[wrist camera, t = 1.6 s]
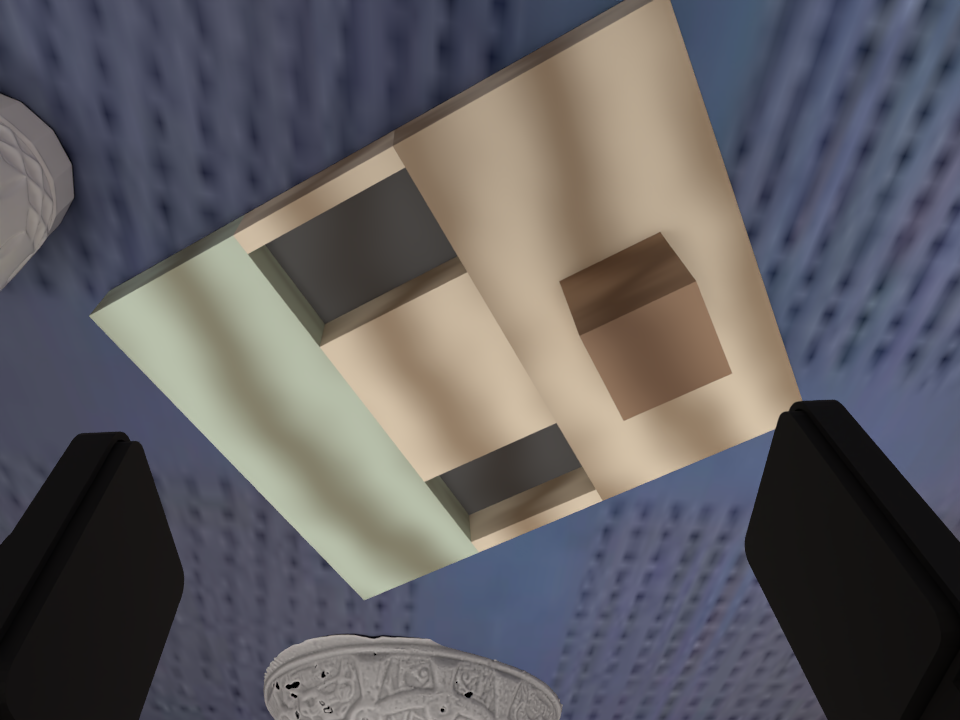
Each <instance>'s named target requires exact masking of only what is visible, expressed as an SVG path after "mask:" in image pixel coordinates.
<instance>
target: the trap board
mask: <svg viewBox="0 0 960 720" xmlns="http://www.w3.org/2000/svg"><path fill="white" fill-rule="evenodd" d="M659 232H661V234H662V235H663V237H664V238H665V239H666V241H667V242H668V243H669V245H670V246H671V247H672V249H673V250H674V251H675V253H676V254H677V256H678V257H679V258H680V260H681V261H682V262H683V264H684V265H685V266H686V268H687V269H688V271H689V272H690V273H691V275H692V276H693V277H694V279H695V280H696V282H697V284H698V287H699V289H700V292H701V295H702V297H703V300H704V302H705V305H706V307H707V310H708V312H709V315H710V318H711V320H712V323H713V325H714V328H715V330H716V333H717V336H718V338H719V341H720V343H721V346H722V348H723V351H724V353H725V356H726V359H727V361H728V364H729V366H730V369H731V371H732V374H730V375H728V376H725V377H723V378H721V379H719V380H716V381H714V382H712V383H709V384H707V385H705V386H703V387H700V388H698V389H696V390H694V391H691V392H689V393H687V394H684V395H682V396H680V397H678V398H675V399H673V400H671V401H668V402H666V403H664V404H662V405H659V406H657V407H655V408H652V409H650V410H648V411H646V412H643V413H641V414H639V415H636V416H634V417H632V418H630V419H627V420H625V421H623V419H622V417H621V415H620V413H619V411H618V409H617V407H616V405H615V403H614V401H613V400H612V398H611V396H610V394H609V392H608V390H607V388H606V386H605V384H604V382H603V380H602V378H601V377H600V375H599V373H598V371H597V369H596V367H595V365H594V363H593V361H592V359H591V357H590V355H589V354H588V352H587V350H586V348H585V346H584V344H583V342H582V340H581V338H580V336H579V334H578V331H577V328H576V325H575V323H574V320H573V317H572V315H571V312H570V309H569V306H568V304H567V301H566V298H565V296H564V293H563V290H562V287H561V285H560V282H559V281H561V280H563V279H565V278H567V277H569V276H571V275H573V274H575V273H577V272H579V271H581V270H583V269H585V268H587V267H589V266H591V265H593V264H595V263H597V262H600V261H602V260H604V259H606V258H608V257H610V256H612V255H614V254H616V253H618V252H620V251H622V250H624V249H626V248H628V247H630V246H632V245H634V244H636V243H638V242H640V241H642V240H644V239H646V238H649V237H651V236H653V235H655V234H657V233H659ZM89 317H90V318H91V319H92V320H93V321H94V322H95V323H96V324H97V325H98V326H99V327H100V328H101V329H102V330H103V331H104V332H105V333H106V334H107V335H108V336H109V337H110V338H111V339H112V340H113V341H114V342H115V343H116V344H117V345H118V346H119V348H120V349H121V350H122V351H123V352H124V353H125V354H126V355H127V356H128V357H129V358H130V359H131V360H132V361H133V362H134V363H135V364H136V365H137V366H138V367H139V368H140V369H141V370H142V371H143V372H144V373H145V374H146V375H147V376H148V377H149V378H150V380H151V381H152V382H153V383H154V384H155V385H156V386H157V387H158V388H159V389H160V390H161V391H162V392H163V393H164V394H165V395H166V396H167V397H168V398H169V399H170V400H171V401H172V402H173V403H174V404H175V405H176V406H177V407H178V408H179V409H180V410H181V412H182V413H183V414H184V415H185V416H186V417H187V418H188V419H189V420H190V421H191V422H192V423H193V424H194V425H195V426H196V427H197V428H198V429H199V430H200V431H201V432H202V433H203V434H204V435H205V436H206V437H207V438H208V439H209V440H210V441H211V442H212V444H213V445H214V446H215V447H216V448H217V449H218V450H219V451H220V452H221V453H222V454H223V455H224V456H225V457H226V458H227V459H228V460H229V461H230V462H231V463H232V464H233V465H234V466H235V467H236V468H237V469H238V470H239V471H240V472H241V473H242V474H243V476H244V477H245V478H246V479H247V480H248V481H249V482H250V483H251V484H252V485H253V486H254V487H255V488H256V489H257V490H258V491H259V492H260V493H261V494H262V495H263V496H264V497H265V498H266V499H267V500H268V501H269V502H270V503H271V504H272V505H273V506H274V508H275V509H276V510H277V511H278V512H279V513H280V514H281V515H282V516H283V517H284V518H285V519H286V520H287V521H288V522H289V523H290V524H291V525H292V526H293V527H294V528H295V529H296V530H297V531H298V532H299V533H300V534H301V535H302V536H303V537H304V538H305V540H306V541H307V542H308V543H309V544H310V545H311V546H312V547H313V548H314V549H315V550H316V551H317V552H318V553H319V554H320V555H321V556H322V557H323V558H324V559H325V560H326V561H327V562H328V563H329V564H330V565H331V566H332V567H333V568H334V569H335V570H336V572H337V573H338V574H339V575H340V576H341V577H342V578H343V579H344V580H345V581H346V582H347V583H348V584H349V585H350V586H351V587H352V588H353V589H354V590H355V591H356V592H357V593H358V594H359V595H360V596H361V597H362V598H363V599H364V600H366V599H368V598H371V597H373V596H375V595H378V594H380V593H383V592H385V591H387V590H390V589H392V588H395V587H397V586H399V585H402V584H404V583H407V582H409V581H411V580H414V579H416V578H419V577H421V576H423V575H426V574H428V573H431V572H433V571H435V570H438V569H440V568H443V567H445V566H447V565H450V564H452V563H455V562H457V561H459V560H462V559H464V558H467V557H469V556H471V555H474V554H476V553H479V552H481V551H483V550H486V549H488V548H490V547H493V546H495V545H498V544H500V543H502V542H505V541H507V540H510V539H512V538H514V537H517V536H519V535H522V534H524V533H526V532H529V531H531V530H534V529H536V528H538V527H541V526H543V525H546V524H548V523H550V522H553V521H555V520H558V519H560V518H562V517H565V516H567V515H570V514H572V513H574V512H577V511H579V510H582V509H584V508H586V507H589V506H591V505H594V504H596V503H598V502H601V501H603V500H606V499H608V498H610V497H613V496H615V495H618V494H620V493H622V492H625V491H627V490H630V489H632V488H634V487H637V486H639V485H642V484H644V483H646V482H649V481H651V480H654V479H656V478H658V477H661V476H663V475H666V474H668V473H670V472H673V471H675V470H677V469H680V468H682V467H685V466H687V465H689V464H692V463H694V462H697V461H699V460H701V459H704V458H706V457H709V456H711V455H713V454H716V453H718V452H721V451H723V450H725V449H728V448H730V447H733V446H735V445H737V444H740V443H742V442H745V441H747V440H749V439H752V438H754V437H757V436H759V435H761V434H764V433H766V432H769V431H771V430H773V429H775V428H776V425H777V421H778V418H779V416H780V414H781V413H782V412H785V411H789V409H790V407H791V406H792V404H793V403H795V402H797V401H802V399H801V395H800V392H799V389H798V386H797V383H796V380H795V377H794V374H793V371H792V368H791V365H790V362H789V359H788V356H787V353H786V350H785V347H784V344H783V341H782V338H781V335H780V332H779V329H778V326H777V323H776V320H775V317H774V314H773V311H772V308H771V305H770V302H769V299H768V296H767V293H766V289H765V286H764V283H763V280H762V277H761V274H760V271H759V268H758V265H757V262H756V259H755V256H754V253H753V250H752V247H751V244H750V241H749V238H748V235H747V232H746V229H745V226H744V223H743V220H742V217H741V214H740V211H739V208H738V205H737V202H736V199H735V196H734V193H733V190H732V186H731V183H730V180H729V177H728V174H727V171H726V168H725V165H724V162H723V159H722V156H721V153H720V150H719V147H718V144H717V141H716V138H715V135H714V132H713V129H712V126H711V123H710V120H709V117H708V114H707V111H706V108H705V105H704V102H703V99H702V96H701V93H700V90H699V87H698V84H697V80H696V77H695V74H694V71H693V68H692V65H691V62H690V59H689V56H688V53H687V50H686V47H685V44H684V41H683V38H682V35H681V32H680V29H679V26H678V23H677V20H676V17H675V14H674V11H673V8H672V5H671V2H670V0H624V1H623V2H621V3H619V4H617V5H616V6H614V7H612V8H610V9H608V10H607V11H605V12H603V13H601V14H600V15H598V16H596V17H594V18H592V19H591V20H589V21H587V22H585V23H584V24H582V25H580V26H578V27H577V28H575V29H573V30H571V31H569V32H568V33H566V34H564V35H562V36H561V37H559V38H557V39H555V40H553V41H552V42H550V43H548V44H546V45H545V46H543V47H541V48H539V49H538V50H536V51H534V52H532V53H530V54H529V55H527V56H525V57H523V58H522V59H520V60H518V61H516V62H514V63H513V64H511V65H509V66H507V67H506V68H504V69H502V70H500V71H499V72H497V73H495V74H493V75H491V76H490V77H488V78H486V79H484V80H483V81H481V82H479V83H477V84H475V85H474V86H472V87H470V88H468V89H467V90H465V91H463V92H461V93H460V94H458V95H456V96H454V97H452V98H451V99H449V100H447V101H445V102H444V103H442V104H440V105H438V106H436V107H435V108H433V109H431V110H429V111H428V112H426V113H424V114H422V115H420V116H419V117H417V118H415V119H413V120H412V121H410V122H408V123H406V124H405V125H403V126H401V127H399V128H397V129H396V130H394V131H392V132H390V133H389V134H387V135H385V136H383V137H381V138H380V139H378V140H376V141H374V142H373V143H371V144H369V145H367V146H366V147H364V148H362V149H360V150H358V151H357V152H355V153H353V154H351V155H350V156H348V157H346V158H344V159H342V160H341V161H339V162H337V163H335V164H334V165H332V166H330V167H328V168H327V169H325V170H323V171H321V172H319V173H318V174H316V175H314V176H312V177H311V178H309V179H307V180H305V181H303V182H302V183H300V184H298V185H296V186H295V187H293V188H291V189H289V190H288V191H286V192H284V193H282V194H280V195H279V196H277V197H275V198H273V199H272V200H270V201H268V202H266V203H264V204H263V205H261V206H259V207H257V208H256V209H254V210H252V211H250V212H249V213H247V214H245V215H243V216H241V217H240V218H238V219H236V220H234V221H233V222H231V223H229V224H227V225H225V226H224V227H222V228H220V229H218V230H217V231H215V232H213V233H211V234H210V235H208V236H206V237H204V238H202V239H201V240H199V241H197V242H195V243H194V244H192V245H190V246H188V247H186V248H185V249H183V250H181V251H179V252H178V253H176V254H174V255H172V256H170V257H169V258H167V259H165V260H163V261H162V262H160V263H158V264H156V265H155V266H153V267H151V268H149V269H147V270H146V271H144V272H142V273H140V274H139V275H137V276H135V277H133V278H131V279H130V280H128V281H126V282H124V283H123V284H121V285H119V286H117V287H116V288H114V289H112V290H110V291H109V292H108V293H107V295H106V296H105V297H104V298H103V299H102V301H101V302H100V303H99V304H98V306H97V307H96V308H95V309H94V311H93V312H92V313H91V314H90V315H89Z"/></svg>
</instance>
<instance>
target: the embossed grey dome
mask: <svg viewBox="0 0 960 720" xmlns="http://www.w3.org/2000/svg"><path fill="white" fill-rule="evenodd" d="M374 652H375V653H376V655H375V656H374ZM274 660H275V661H272V662H271V663H270V667H268V669H267V670H266V671H267V673H264V674H266V676H264V677H265V680H264V682H265V683H264V698H265V703H266V706H267V708H268V710H269V712H270V713H271V715H272V716H273V717H274V719H275V720H559V719H560V716H561V711H562V704H560V699H558V696H557V695H556V694H555V693H554V692H553V690H552V689H551V688H550V687H549V686H548V685H547V684H545V683H544V682H543V681H541V680H540V679H538V678H536V677H535V676H533V675H531V674H529V673H527V672H526V671H522V670H520V669H518V668H516V667H513V666H510V665H507V664H504V663H501V662H499V661H497V660H491V659H489V658H486V657H482V656H478V655H475V654H471V653H467V652H463V651H459V650H455V649H452V648H448V647H445V646H441V645H440V644H437V643H435V642H433V641H432V640H430V639H421V638H406V637H395V638H394V637H386V636H381V637H379V638H375V639H372V638H368V637H362V636H358V635H349V634H347V635H330V636H327V637H325V636H324V637H318V638H314V639H309V640H306V641H305V642H303V643H301V644H296V645H293V646H291V647H289V648H288V649H286V650H284V651H283V652H281V653H280V654H279V655H278V656H277V657H276V658H274ZM316 665H317V667H316V668H315V666H316ZM323 671H324V672H325V673H324V674H325V675H326V679H325V677H324V678H322V677H321V674H322V672H323ZM327 672H328V673H329V674H327ZM456 681H458V683H456ZM276 682H278V685H279V687H280V689H279V690H278V689H277V688H276ZM293 682H300V685H299V687H298V688H291V689H287V688H286V685H287V684H292V683H293ZM273 684H274V687H273ZM467 692H472V693H473V695H472V696H471V697H470V698H467V697H466V696H464V694H466V693H467ZM292 693H293V694H295V695H297V696H298V697H297V698H294V697H292V696H291V694H292ZM319 701H320V702H319ZM322 701H323V702H322ZM320 703H321V704H324V703H325V705H324V706H322V705H321V704H320ZM328 706H329V708H330V709H326V710H325V712H327V713H325V712H324V710H323V709H324V708H328ZM331 708H332V710H333V712H332V713H328V712H331V711H332V710H331ZM441 708H443V709H444V711H443V712H441ZM296 711H297V712H298V713H299V714H298V715H300V716H299V719H297V717H296V714H295V713H296Z"/></svg>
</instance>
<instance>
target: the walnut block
mask: <svg viewBox="0 0 960 720" xmlns="http://www.w3.org/2000/svg"><path fill="white" fill-rule="evenodd" d="M559 282H560V285H561V287H562V290H563V293H564V296H565V298H566V301H567V304H568V306H569V309H570V312H571V315H572V317H573V320H574V323H575V325H576V328H577V331H578V334H579V336H580V338H581V340H582V342H583V344H584V346H585V348H586V350H587V352H588V354H589V355H590V357H591V359H592V361H593V363H594V365H595V367H596V369H597V371H598V373H599V375H600V377H601V378H602V380H603V382H604V384H605V386H606V388H607V390H608V392H609V394H610V396H611V398H612V400H613V401H614V403H615V405H616V407H617V409H618V411H619V413H620V415H621V417H622V419H623V421H625V420H627V419H630V418H632V417H634V416H636V415H639V414H641V413H643V412H646V411H648V410H650V409H652V408H655V407H657V406H659V405H662V404H664V403H666V402H668V401H671V400H673V399H675V398H678V397H680V396H682V395H684V394H687V393H689V392H691V391H694V390H696V389H698V388H700V387H703V386H705V385H707V384H709V383H712V382H714V381H716V380H719V379H721V378H723V377H725V376H728V375H730V374H732V371H731V369H730V366H729V364H728V361H727V359H726V356H725V353H724V351H723V348H722V346H721V343H720V341H719V338H718V336H717V333H716V330H715V328H714V325H713V323H712V320H711V318H710V315H709V312H708V310H707V307H706V305H705V302H704V300H703V297H702V295H701V292H700V289H699V287H698V284H697V282H696V280H695V279H694V277H693V276H692V275H691V273H690V272H689V271H688V269H687V268H686V266H685V265H684V264H683V262H682V261H681V260H680V258H679V257H678V256H677V254H676V253H675V251H674V250H673V249H672V247H671V246H670V245H669V243H668V242H667V241H666V239H665V238H664V237H663V235H662V234H661V232H659V233H657V234H655V235H653V236H651V237H649V238H646V239H644V240H642V241H640V242H638V243H636V244H634V245H632V246H630V247H628V248H626V249H624V250H622V251H620V252H618V253H616V254H614V255H612V256H610V257H608V258H606V259H604V260H602V261H600V262H597V263H595V264H593V265H591V266H589V267H587V268H585V269H583V270H581V271H579V272H577V273H575V274H573V275H571V276H569V277H567V278H565V279H563V280H561V281H559Z"/></svg>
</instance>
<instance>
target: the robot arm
mask: <svg viewBox="0 0 960 720" xmlns="http://www.w3.org/2000/svg"><path fill="white" fill-rule="evenodd" d="M745 552H746V556H747V560H748V562H749V564H750V566H751V568H752V570H753V572H754V574H755V576H756V578H757V580H758V582H759V584H760V586H761V588H762V590H763V592H764V594H765V596H766V598H767V600H768V602H769V604H770V606H771V608H772V610H773V612H774V614H775V616H776V618H777V620H778V622H779V624H780V626H781V628H782V630H783V632H784V634H785V636H786V638H787V640H788V642H789V644H790V646H791V648H792V650H793V652H794V654H795V656H796V658H797V660H798V662H799V664H800V666H801V668H802V670H803V672H804V674H805V676H806V678H807V680H808V682H809V684H810V686H811V688H812V690H813V692H814V694H815V695H816V697H817V699H818V701H819V703H820V705H821V707H822V709H823V711H824V713H825V715H826V717H827V719H828V720H960V542H959V541H958V540H957V538H956V537H955V536H954V535H953V534H952V533H951V531H950V530H949V529H948V528H947V527H946V526H945V524H944V523H943V522H942V521H941V520H940V519H939V517H938V516H937V515H936V514H935V513H934V511H933V510H932V509H931V508H930V507H929V506H928V504H927V503H926V502H925V501H924V500H923V499H922V497H921V496H920V495H919V494H918V493H917V492H916V490H915V489H914V488H913V487H912V486H911V485H910V483H909V482H908V481H907V480H906V479H905V478H904V476H903V475H902V474H901V473H900V472H899V470H898V469H897V468H896V467H895V466H894V465H893V463H892V462H891V461H890V460H889V459H888V458H887V456H886V455H885V454H884V453H883V452H882V451H881V449H880V448H879V447H878V446H877V445H876V444H875V442H874V441H873V440H872V439H871V438H870V437H869V435H868V434H867V433H866V432H865V431H864V430H863V428H862V427H861V426H860V425H859V424H858V422H857V421H856V420H855V419H854V418H853V417H852V415H851V414H850V413H849V412H848V411H847V410H846V408H845V407H844V406H843V405H842V404H841V403H840V402H838V401H836V400H814V401H797V402H795V403H793V404H792V406H791V407H790V409H789V411H785V412H782V413H781V414H780V416H779V418H778V421H777V425H776V428H775V432H774V436H773V439H772V443H771V447H770V450H769V454H768V457H767V461H766V465H765V468H764V472H763V475H762V479H761V483H760V486H759V490H758V493H757V497H756V501H755V504H754V508H753V512H752V515H751V519H750V522H749V526H748V530H747V533H746V537H745ZM183 587H184V572H183V568H182V565H181V562H180V559H179V556H178V553H177V550H176V547H175V544H174V541H173V537H172V534H171V531H170V528H169V525H168V522H167V519H166V516H165V513H164V510H163V507H162V504H161V501H160V498H159V495H158V492H157V489H156V486H155V483H154V480H153V477H152V474H151V471H150V468H149V465H148V462H147V459H146V456H145V453H144V450H143V447H142V445H141V444H140V443H139V442H137V441H130V439H129V437H128V436H127V435H126V434H125V433H124V432H101V433H81V434H79V435H77V436H76V437H75V438H74V439H73V440H72V442H71V443H70V445H69V446H68V448H67V449H66V451H65V452H64V454H63V455H62V457H61V458H60V460H59V461H58V463H57V464H56V466H55V467H54V469H53V470H52V472H51V473H50V475H49V477H48V478H47V480H46V481H45V483H44V484H43V486H42V487H41V489H40V490H39V492H38V493H37V495H36V496H35V498H34V499H33V501H32V502H31V504H30V505H29V507H28V508H27V510H26V512H25V513H24V515H23V516H22V518H21V519H20V521H19V522H18V524H17V525H16V527H15V528H14V530H13V531H12V533H11V534H10V535H8V537H7V538H6V539H5V540H4V541H3V542H2V544H1V545H0V720H139V717H140V714H141V711H142V709H143V706H144V703H145V700H146V697H147V694H148V691H149V688H150V686H151V683H152V680H153V677H154V674H155V671H156V668H157V665H158V663H159V660H160V657H161V654H162V651H163V648H164V645H165V643H166V640H167V637H168V634H169V631H170V628H171V625H172V622H173V620H174V617H175V614H176V611H177V608H178V605H179V602H180V600H181V597H182V593H183Z"/></svg>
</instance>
